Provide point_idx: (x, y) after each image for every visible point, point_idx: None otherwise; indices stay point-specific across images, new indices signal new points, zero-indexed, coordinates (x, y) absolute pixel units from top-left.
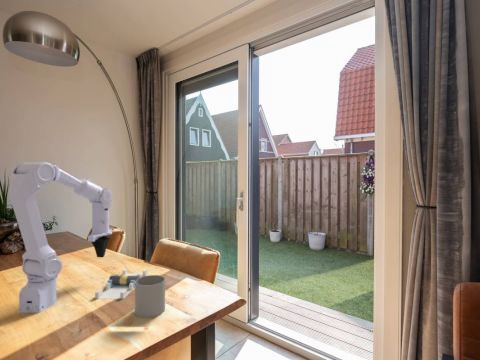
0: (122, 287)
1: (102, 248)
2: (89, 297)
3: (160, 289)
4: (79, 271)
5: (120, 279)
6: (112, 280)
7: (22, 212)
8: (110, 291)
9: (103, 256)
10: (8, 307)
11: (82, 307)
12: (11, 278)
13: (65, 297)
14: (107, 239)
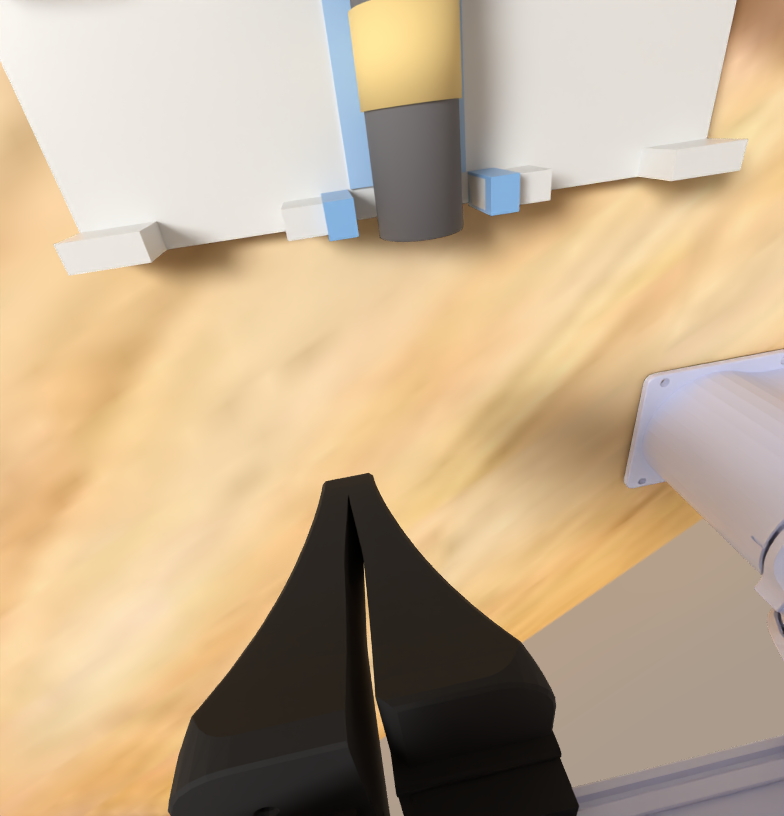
0: (472, 45)
1: (420, 560)
2: (595, 263)
3: None
4: (171, 613)
5: (461, 86)
6: (461, 188)
7: None
8: (567, 121)
9: (346, 479)
10: (661, 537)
11: (752, 200)
12: None
13: (580, 406)
14: (399, 691)
